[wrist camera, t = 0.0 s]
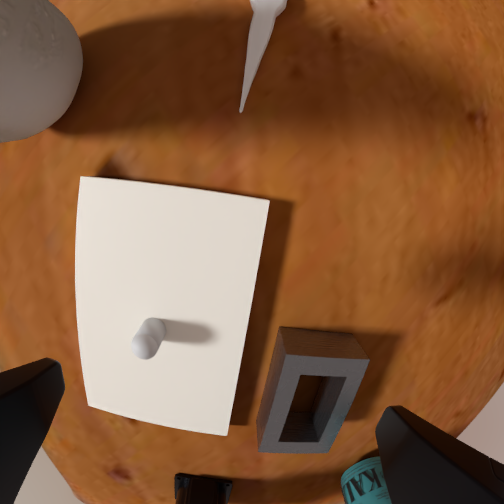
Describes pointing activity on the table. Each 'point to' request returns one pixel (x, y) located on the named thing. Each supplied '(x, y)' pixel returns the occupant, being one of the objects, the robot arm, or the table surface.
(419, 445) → the robot arm
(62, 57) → the glass bottle
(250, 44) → the white elongated figurine
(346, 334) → the steel link
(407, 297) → the table surface
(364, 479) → the beverage bottle
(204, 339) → the keeper board
